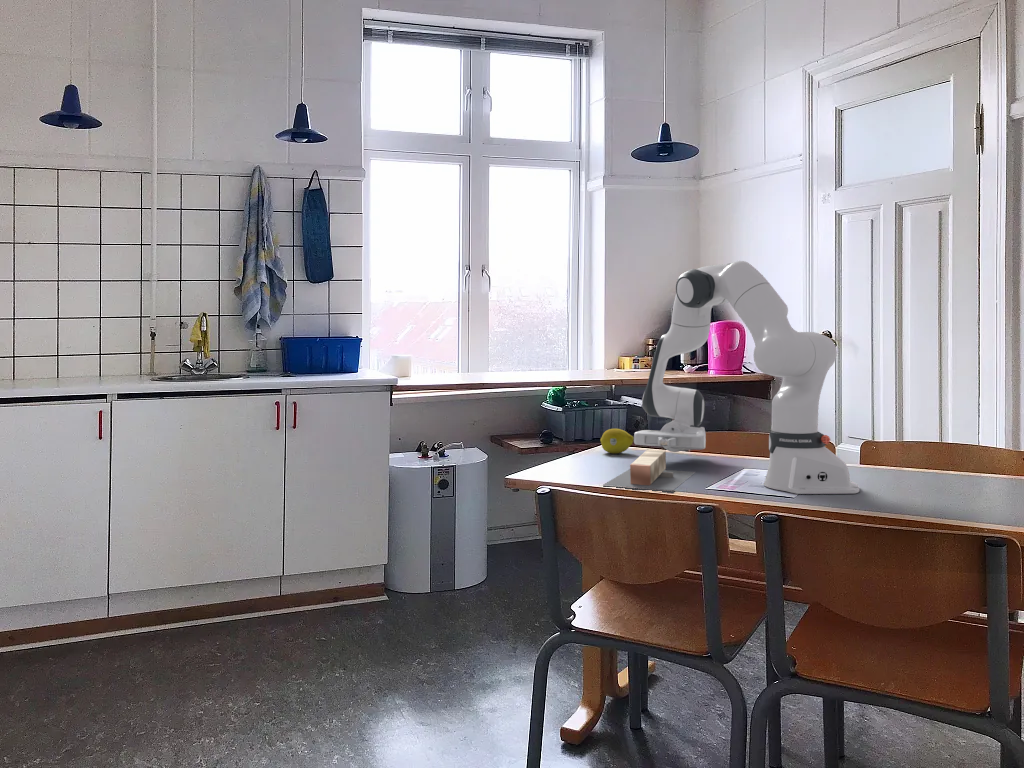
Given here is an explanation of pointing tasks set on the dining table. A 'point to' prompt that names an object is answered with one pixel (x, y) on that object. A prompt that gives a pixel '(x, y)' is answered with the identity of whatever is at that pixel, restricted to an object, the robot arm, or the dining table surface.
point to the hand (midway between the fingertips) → (663, 443)
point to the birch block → (648, 467)
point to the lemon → (616, 441)
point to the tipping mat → (663, 482)
